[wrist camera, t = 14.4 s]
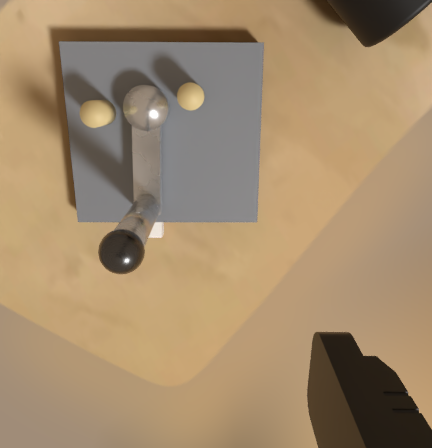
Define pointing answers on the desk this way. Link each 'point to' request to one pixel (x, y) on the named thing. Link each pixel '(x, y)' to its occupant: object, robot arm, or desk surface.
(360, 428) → the robot arm
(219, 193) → the crank base
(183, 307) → the desk surface
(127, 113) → the crank
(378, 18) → the end cap
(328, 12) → the desk surface
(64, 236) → the desk surface
